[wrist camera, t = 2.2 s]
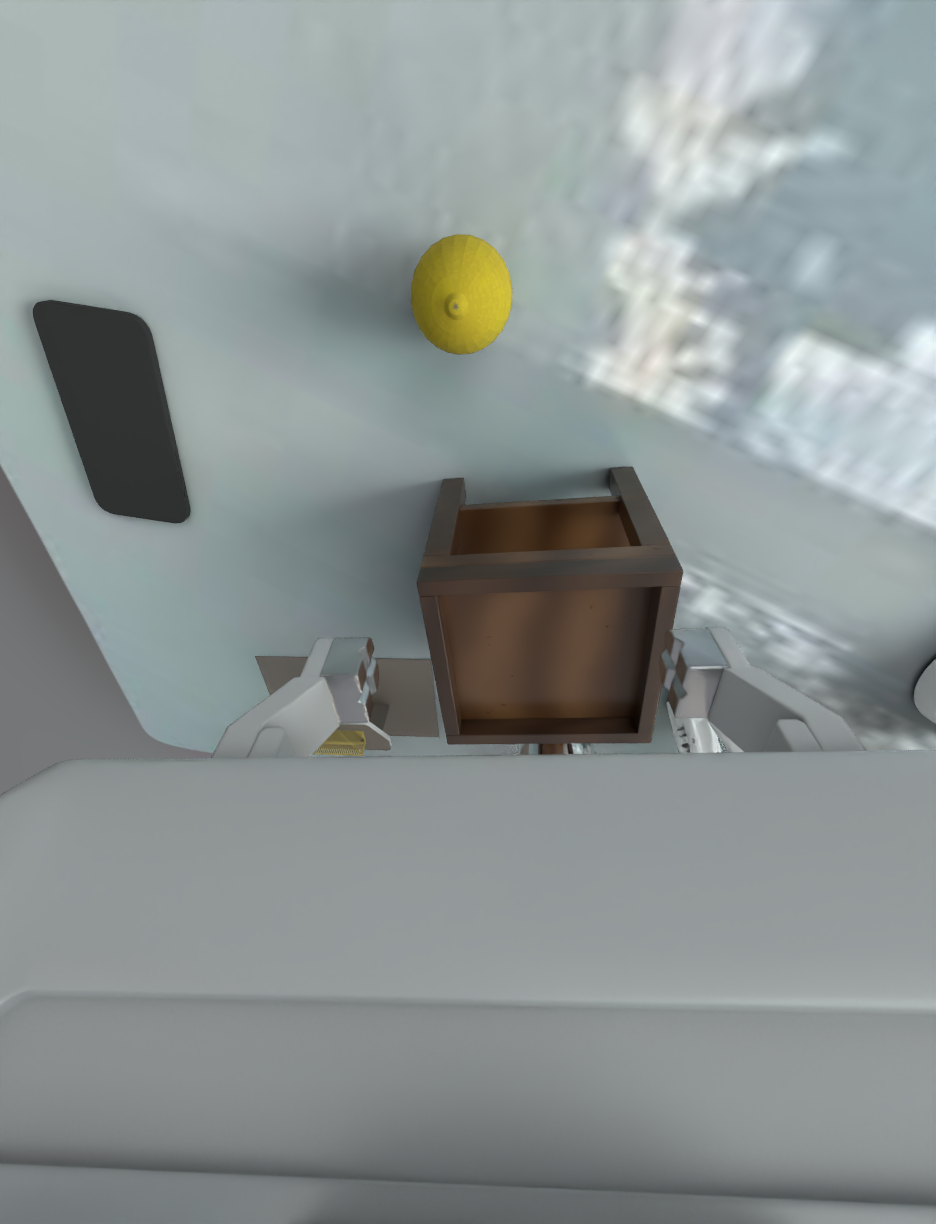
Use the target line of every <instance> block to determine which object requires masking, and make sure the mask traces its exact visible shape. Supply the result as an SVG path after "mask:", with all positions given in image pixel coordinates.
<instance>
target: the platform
mask: <svg viewBox="0 0 936 1224" xmlns="http://www.w3.org/2000/svg"><path fill="white" fill-rule="evenodd" d="M255 657H256V660H257V663H258V665H259V668H260V670H261V673H262V675H263V678H264V680H265V683H266V685H267V688H268V690H269V693H270V695H271V694H273V693H274V692H275V691H277V690H278V689H280V688H281V687H282V686H284V685H285V684H286V683H288V682H289V681H290V680H292V679H293V678H295V677H300V675H301V673H302V671H303V668H304V666H305V664H306V661H307V659H308V657H273V656H255ZM376 660H377V662H378V667H379V685H378V690H377V693H376V694H375V695H373V696H372V698H373V702H374V706H373V710H372V714H371V718H370V722H368V723H344V724H340V726H339V727H338V728H337V729H336V730H335V731H334V732H333V733H332V734H331V735H330V736H329V737H328V738H327V740H326V741H325V742H324V743H323V744H322V745H321V746H320V747H319V748H320V750H319V748H318V751H319V753H318V751H317V750H316V751H317V753H316V751H315V753H313V754H327V755H356V756H363V751H364V750H390V748H391V744H392V743H391V738H390V736H416V737H439V731H438V722H437V713H436V704H435V695H434V686H433V676H432V667H431V660H421V659H376ZM321 748H322V750H323V748H324V750H325V748H326V750H327V748H328V750H329V752H330V749H331V752H332V749H333V752H334V749H335V752H336V754H335V752H334V754H333V752H332V753H331V752H330V753H329V752H328V750H327V752H326V750H325V753H324V750H323V753H322V750H321ZM329 748H330V749H329ZM336 749H337V751H338V749H339V751H340V749H341V751H342V749H343V751H344V749H345V751H346V754H345V751H344V754H343V751H342V754H341V751H340V754H339V751H338V754H337V751H336ZM346 749H347V750H348V749H349V750H350V749H351V750H352V749H353V750H354V749H356V753H357V751H358V752H359V754H358V753H357V754H356V753H355V750H354V753H355V754H354V753H353V750H352V753H353V754H352V753H351V750H350V753H351V754H350V753H349V750H348V753H349V754H348V753H347V750H346ZM359 750H360V751H359ZM361 750H362V752H361ZM320 751H321V753H320Z"/></svg>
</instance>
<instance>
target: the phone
mask: <svg viewBox="0 0 936 1224" xmlns="http://www.w3.org/2000/svg"><path fill="white" fill-rule="evenodd" d="M33 317H34V321H35V324H36V327H37V330H38V333H39V336H40V339H41V342H42V345H43V348H44V351H45V354H46V357H47V360H48V363H49V366H50V369H51V371H52V374H53V377H54V380H55V383H56V386H57V389H58V392H59V395H60V398H61V401H62V404H63V407H64V410H65V413H66V416H67V418H68V421H69V424H70V427H71V430H72V433H73V436H74V439H75V442H76V445H77V448H78V451H79V454H80V457H81V460H82V462H83V465H84V468H85V471H86V474H87V477H88V480H89V483H90V486H91V489H92V492H93V495H94V497H95V500H96V502H97V503H98V505H99V506H100V507H101V508H102V509H104V510H105V511H107V512H109V513H112V514H117V515H123V516H130V517H136V518H143V519H150V520H156V521H163V522H170V523H181V522H183V521H185V520H186V519H187V518H188V517H189V515H190V505H189V501H188V496H187V492H186V487H185V483H184V478H183V473H182V469H181V464H180V460H179V455H178V451H177V446H176V442H175V437H174V433H173V428H172V423H171V419H170V414H169V410H168V405H167V401H166V396H165V392H164V387H163V383H162V378H161V373H160V369H159V364H158V360H157V355H156V351H155V346H154V342H153V338H152V334H151V332H150V329H149V327H148V326H147V324H146V323H145V322H144V321H143V320H142V319H141V318H140V317H138V316H137V315H135V314H132V313H128V312H123V311H117V310H111V309H105V308H98V307H92V306H86V305H80V304H73V303H67V302H60V301H53V300H48V301H42V302H38V303H36V304H35V305H34V308H33Z"/></svg>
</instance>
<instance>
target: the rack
mask: <svg viewBox="0 0 936 1224" xmlns="http://www.w3.org/2000/svg"><path fill="white" fill-rule="evenodd" d="M609 489H610V491H611V494H612V496H604V497H587V498H571V499H554V500H538V501H521V502H504V503H488V504H471V505H465V500H466V492H465V482H464V478H455V479H444V480H443V483H442V487H441V491H440V495H439V499H438V502H437V506H436V510H435V514H434V518H433V522H432V525H431V529H430V533H429V537H428V541H427V545H426V548H425V552H424V556H423V560H422V564H421V568H420V571H419V575H418V579H417V587H418V592H419V596H420V597H419V598H420V603H421V608H422V613H423V618H424V624H425V629H426V634H427V639H428V644H429V650H430V655H431V660H432V665H433V670H434V676H435V681H436V686H437V691H438V696H439V702H440V707H441V712H442V717H443V723H444V728H445V733H446V738H447V743H448V744H579V743H651V739H652V733H653V729H654V724H655V719H656V713H657V708H658V703H659V697H660V692H661V687H662V682H661V679H660V674H659V661H660V655H661V653H662V652H663V651H664V650H665V649H666V646H665V643H664V637H665V633H666V632H667V630H669V629H673V623H674V618H675V613H676V608H677V602H678V597H679V592H680V585H681V581H682V576H683V569H682V567H681V565H680V563H679V561H678V559H677V557H676V555H675V553H674V551H673V548H672V546H671V545H670V542H669V540H668V538H667V536H666V534H665V532H664V530H663V528H662V526H661V524H660V522H659V520H658V518H657V516H656V513H655V511H654V509H653V507H652V505H651V503H650V501H649V499H648V497H647V495H646V493H645V491H644V489H643V487H642V485H641V483H640V481H639V479H638V477H637V475H636V473H635V471H634V468H633V467H620V468H611V469H610V483H609Z"/></svg>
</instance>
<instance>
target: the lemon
mask: <svg viewBox="0 0 936 1224" xmlns="http://www.w3.org/2000/svg"><path fill="white" fill-rule="evenodd" d="M411 304H412V309H413V315H414V317H415V320H416V322H417V324H418V327H419V329H420V330H421V331H422V333H423V334H424V335H425V337H426V338H427V339H428V340H429V341H430V342H431V343H432V344H434V345H435V346H436V347H438V348H440V349H442V350H444V351H446V352H448V353H454V354H471V353H474V352H477V351H479V350H482V349H484V348H485V347H486V346H488V345H489V344H490V343H492V342H493V341H494V340H495V339H496V338H497V336H498V335H499V334H500V333H501V332H502V330H503V328H504V326H505V324H506V322H507V320H508V318H509V314H510V310H511V305H512V284H511V279H510V274H509V271H508V269H507V267H506V265H505V263H504V260H503V259H502V257H501V256H500V255H499V254H498V252H497V251H496V250H495V249H494V248H493V247H492V246H491V245H489V244H488V243H487V242H485V241H484V240H483V239H480V238H477V237H474V236H471V235H457V234H456V235H453V236H449V237H445V238H443V239H441V240H440V241H438V242H436V243H435V244H433V245H432V246H431V247H430V248H429V249H428V250H427V251H426V253H425V254H424V255H423V256H422V257H421V259H420V261H419V263H418V265H417V267H416V269H415V271H414V276H413V280H412V284H411Z"/></svg>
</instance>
